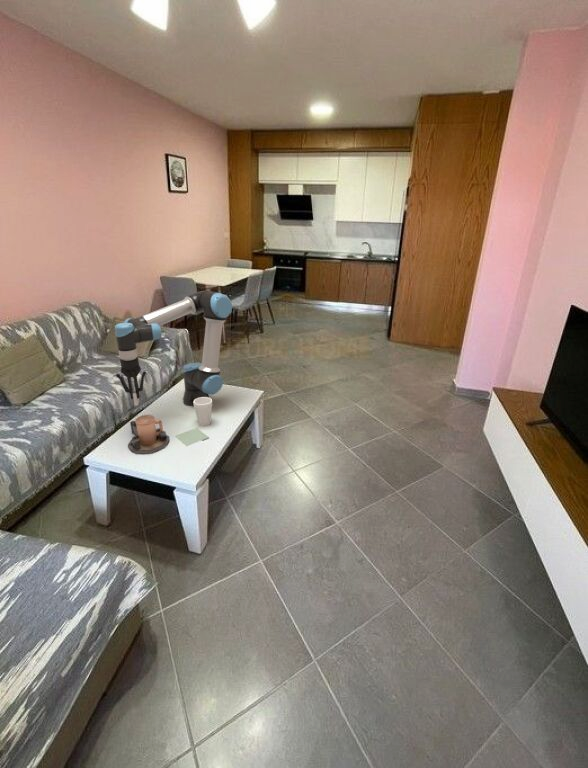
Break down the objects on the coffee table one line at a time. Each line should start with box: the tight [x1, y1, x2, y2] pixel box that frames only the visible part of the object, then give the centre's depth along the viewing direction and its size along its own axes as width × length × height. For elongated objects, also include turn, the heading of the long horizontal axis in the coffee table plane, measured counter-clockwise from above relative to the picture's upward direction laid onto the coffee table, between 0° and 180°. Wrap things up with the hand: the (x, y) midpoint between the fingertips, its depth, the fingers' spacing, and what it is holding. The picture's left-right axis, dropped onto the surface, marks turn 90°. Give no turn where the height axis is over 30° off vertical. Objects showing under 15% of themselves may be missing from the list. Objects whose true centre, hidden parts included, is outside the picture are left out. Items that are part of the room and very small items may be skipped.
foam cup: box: [193, 397, 213, 427], centre depth 188 cm, size 10×9×13 cm
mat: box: [174, 427, 210, 447], centre depth 177 cm, size 12×12×1 cm
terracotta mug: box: [134, 414, 164, 446], centre depth 170 cm, size 9×11×12 cm
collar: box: [127, 420, 170, 454], centre depth 171 cm, size 24×17×6 cm
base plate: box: [128, 437, 170, 456], centre depth 171 cm, size 18×18×1 cm
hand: (136, 404), depth 172 cm, fingers closed
